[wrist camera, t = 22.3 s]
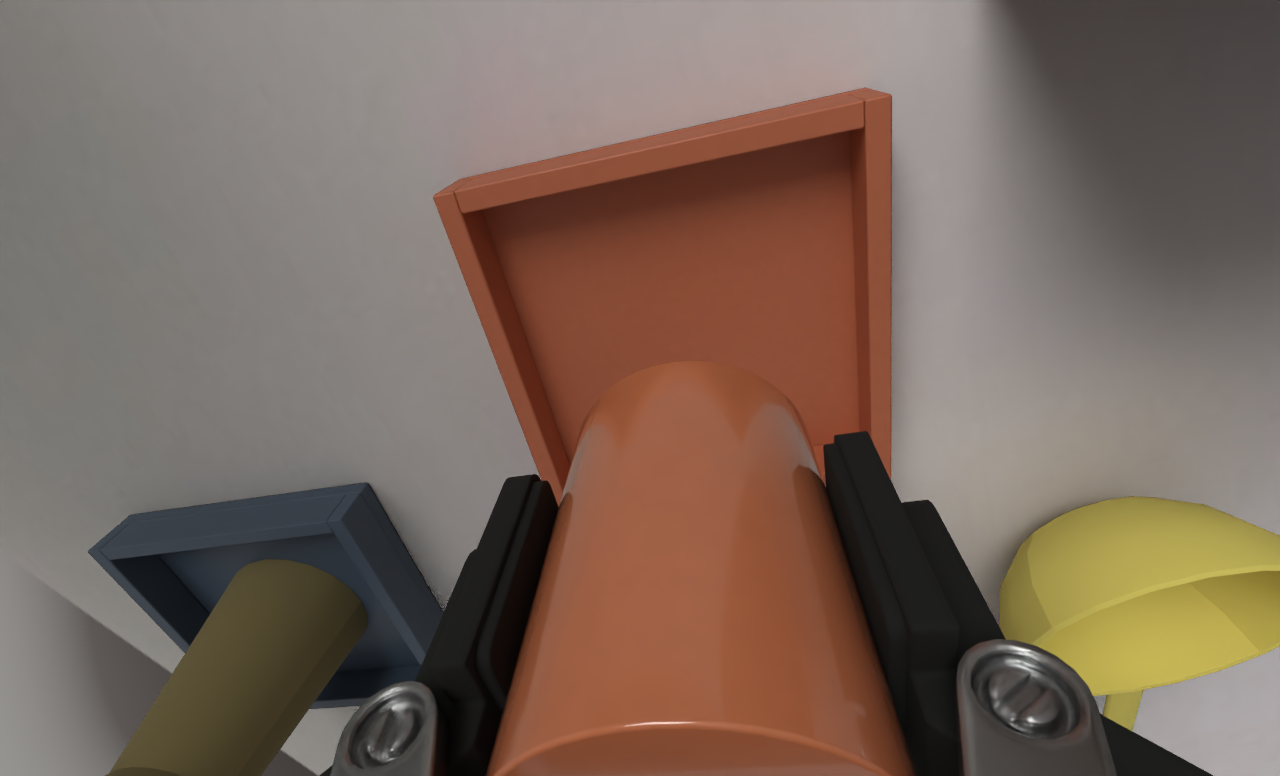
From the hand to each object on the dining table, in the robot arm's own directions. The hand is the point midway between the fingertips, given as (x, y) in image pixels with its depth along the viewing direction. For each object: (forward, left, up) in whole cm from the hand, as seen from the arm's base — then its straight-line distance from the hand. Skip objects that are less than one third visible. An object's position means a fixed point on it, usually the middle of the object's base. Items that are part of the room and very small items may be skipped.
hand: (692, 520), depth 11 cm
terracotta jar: (0, 0, -2) cm, 2 cm away
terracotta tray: (0, 0, -9) cm, 9 cm away
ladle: (+14, -20, -9) cm, 26 cm away
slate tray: (-19, -10, -9) cm, 23 cm away
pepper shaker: (-19, -10, -8) cm, 23 cm away
